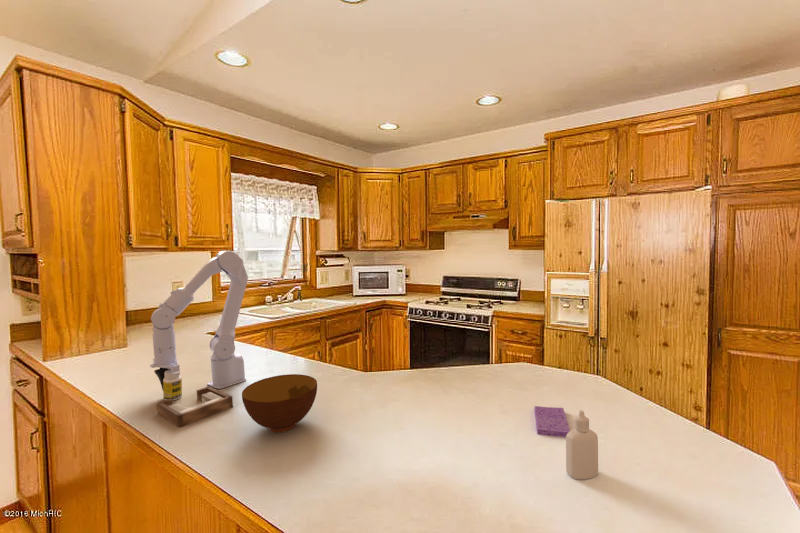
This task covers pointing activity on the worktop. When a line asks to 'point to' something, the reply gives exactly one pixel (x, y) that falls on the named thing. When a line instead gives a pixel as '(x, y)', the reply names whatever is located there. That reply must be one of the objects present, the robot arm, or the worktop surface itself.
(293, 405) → the bowl
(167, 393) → the supplement bottle
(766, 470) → the worktop surface
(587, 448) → the eye dropper bottle
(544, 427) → the sponges
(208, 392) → the socket box
